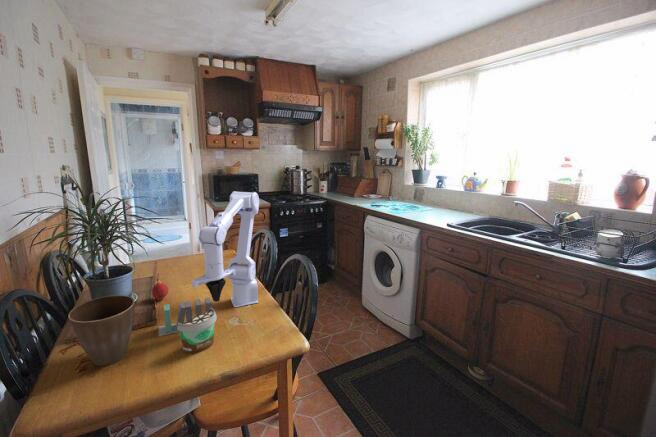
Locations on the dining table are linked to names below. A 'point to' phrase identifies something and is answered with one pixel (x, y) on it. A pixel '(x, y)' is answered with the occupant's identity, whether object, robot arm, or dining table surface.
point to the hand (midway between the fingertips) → (216, 300)
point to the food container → (198, 332)
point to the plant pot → (104, 327)
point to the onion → (160, 291)
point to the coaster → (163, 329)
